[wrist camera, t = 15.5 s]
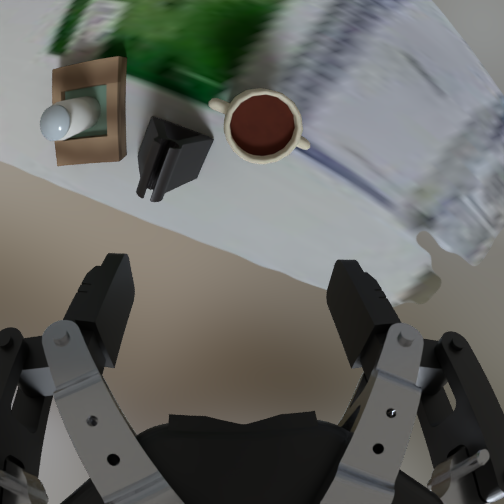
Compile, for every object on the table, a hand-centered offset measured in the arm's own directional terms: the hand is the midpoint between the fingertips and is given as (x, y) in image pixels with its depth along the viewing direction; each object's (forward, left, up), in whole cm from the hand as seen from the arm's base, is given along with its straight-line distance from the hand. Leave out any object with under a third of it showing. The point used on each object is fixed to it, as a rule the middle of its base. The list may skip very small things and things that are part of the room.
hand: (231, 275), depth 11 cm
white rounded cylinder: (-4, -19, -28) cm, 34 cm away
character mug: (-3, +3, -30) cm, 31 cm away
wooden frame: (-4, -19, -30) cm, 36 cm away
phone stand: (+2, -7, -30) cm, 31 cm away
